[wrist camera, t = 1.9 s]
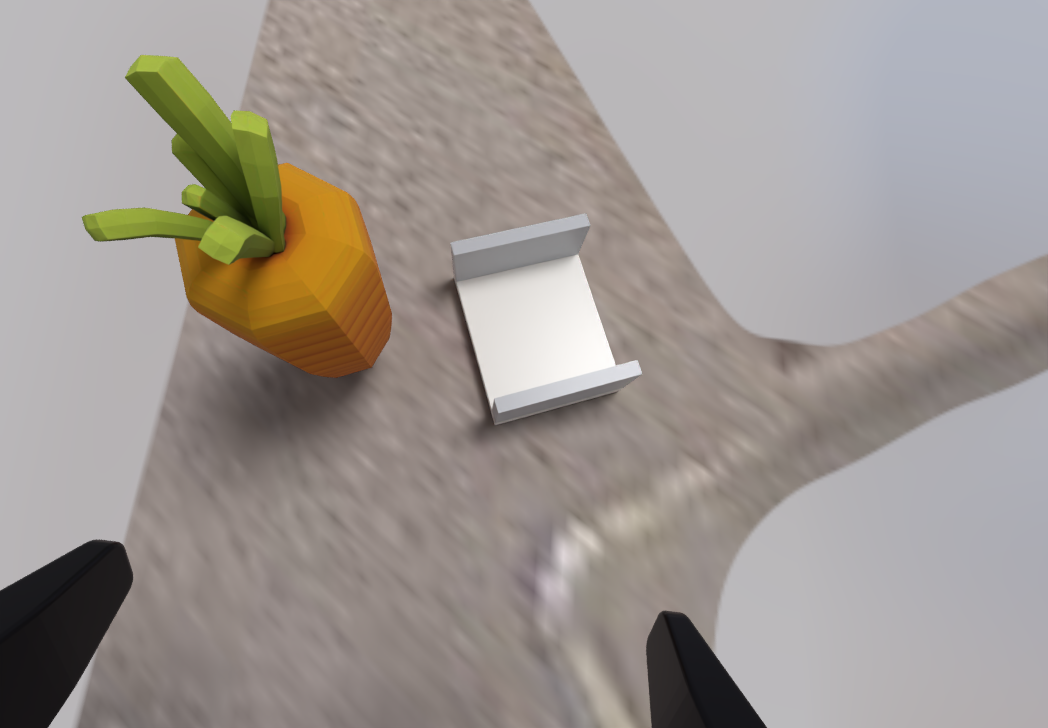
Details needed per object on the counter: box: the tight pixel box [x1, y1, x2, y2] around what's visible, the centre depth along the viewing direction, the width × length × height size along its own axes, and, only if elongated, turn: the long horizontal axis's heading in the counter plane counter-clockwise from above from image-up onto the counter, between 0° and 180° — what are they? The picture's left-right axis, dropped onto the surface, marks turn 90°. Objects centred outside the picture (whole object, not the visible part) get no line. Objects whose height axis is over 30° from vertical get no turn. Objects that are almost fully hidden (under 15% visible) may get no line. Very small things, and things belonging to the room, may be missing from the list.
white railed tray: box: [451, 213, 642, 425], centre depth 22 cm, size 7×6×4 cm
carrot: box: [82, 55, 392, 378], centre depth 16 cm, size 5×5×15 cm
